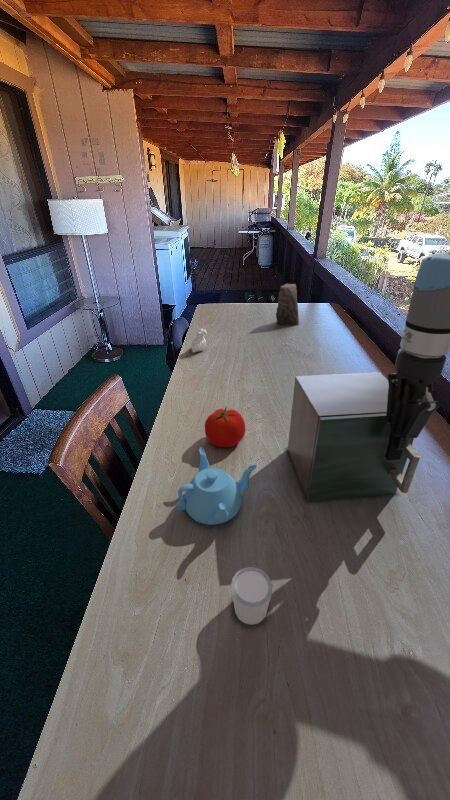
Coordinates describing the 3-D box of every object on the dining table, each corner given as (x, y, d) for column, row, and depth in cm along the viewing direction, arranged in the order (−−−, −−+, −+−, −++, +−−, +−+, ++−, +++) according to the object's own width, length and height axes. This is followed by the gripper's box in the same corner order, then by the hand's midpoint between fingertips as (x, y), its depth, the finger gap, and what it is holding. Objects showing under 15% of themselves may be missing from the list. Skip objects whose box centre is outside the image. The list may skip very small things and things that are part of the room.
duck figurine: (196, 359, 157) (210, 341, 152) (183, 349, 156) (197, 330, 150) (203, 349, 167) (216, 332, 162) (190, 339, 166) (203, 322, 160)
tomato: (236, 426, 109) (236, 398, 104) (251, 448, 100) (252, 418, 94) (199, 435, 105) (197, 406, 100) (212, 458, 96) (210, 427, 91)
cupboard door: (408, 513, 79) (440, 429, 67) (315, 522, 77) (331, 437, 65) (393, 491, 85) (419, 410, 73) (306, 498, 83) (319, 417, 71)
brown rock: (275, 325, 191) (277, 287, 180) (274, 318, 201) (276, 282, 191) (298, 325, 190) (302, 288, 179) (296, 318, 200) (300, 282, 190)
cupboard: (392, 491, 85) (419, 409, 73) (306, 498, 83) (318, 416, 71) (361, 445, 100) (379, 371, 88) (287, 450, 99) (295, 376, 86)
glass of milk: (222, 608, 61) (222, 585, 58) (249, 582, 66) (250, 559, 62) (252, 639, 57) (253, 616, 54) (278, 609, 61) (281, 585, 58)
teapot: (168, 515, 79) (164, 482, 74) (204, 475, 90) (202, 443, 85) (224, 543, 73) (224, 509, 68) (255, 495, 84) (257, 463, 79)
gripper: (383, 339, 66) (361, 441, 77) (424, 367, 55) (390, 480, 66) (421, 337, 66) (393, 438, 78) (468, 364, 55) (428, 477, 67)
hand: (392, 458), depth 72 cm, fingers closed
